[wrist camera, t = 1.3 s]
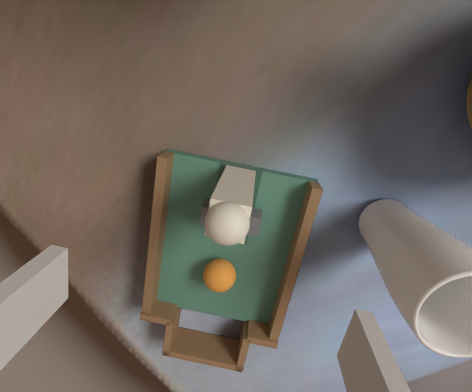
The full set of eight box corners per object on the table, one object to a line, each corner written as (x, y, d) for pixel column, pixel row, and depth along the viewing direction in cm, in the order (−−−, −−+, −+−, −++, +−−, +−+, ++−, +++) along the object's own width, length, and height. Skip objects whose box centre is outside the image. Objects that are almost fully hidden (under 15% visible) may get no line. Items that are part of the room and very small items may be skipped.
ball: (208, 249, 35) (203, 267, 32) (239, 256, 35) (237, 274, 31) (204, 276, 36) (198, 295, 33) (234, 282, 36) (231, 302, 33)
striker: (212, 160, 31) (183, 201, 20) (270, 172, 31) (274, 220, 20) (203, 215, 33) (172, 279, 22) (258, 226, 33) (255, 297, 22)
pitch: (168, 149, 33) (155, 157, 29) (316, 179, 32) (323, 191, 29) (148, 325, 41) (136, 349, 37) (267, 350, 41) (267, 377, 37)
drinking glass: (345, 245, 35) (400, 354, 20) (355, 188, 32) (426, 266, 18) (407, 250, 34) (508, 364, 20) (422, 192, 32) (548, 276, 18)
